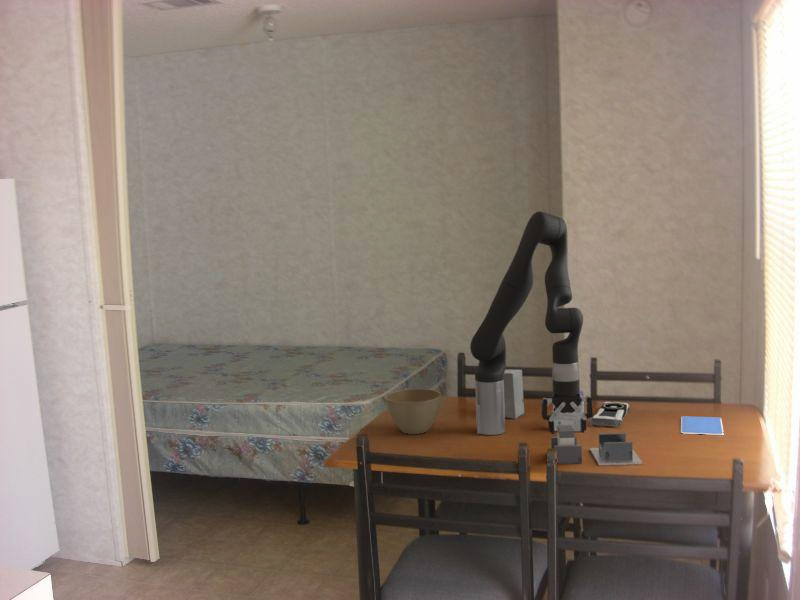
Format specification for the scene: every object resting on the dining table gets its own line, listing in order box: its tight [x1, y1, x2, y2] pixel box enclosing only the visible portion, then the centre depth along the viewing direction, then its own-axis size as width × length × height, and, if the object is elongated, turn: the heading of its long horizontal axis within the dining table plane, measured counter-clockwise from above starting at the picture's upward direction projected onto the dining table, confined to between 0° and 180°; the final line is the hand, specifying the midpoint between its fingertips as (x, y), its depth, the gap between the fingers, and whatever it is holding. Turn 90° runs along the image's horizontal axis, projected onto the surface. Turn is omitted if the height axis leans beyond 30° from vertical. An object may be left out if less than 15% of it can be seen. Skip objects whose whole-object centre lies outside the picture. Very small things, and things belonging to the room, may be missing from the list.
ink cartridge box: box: [551, 390, 585, 432], centre depth 261 cm, size 10×6×14 cm, turn 78°
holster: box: [550, 435, 583, 465], centre depth 233 cm, size 7×9×5 cm
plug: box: [556, 425, 575, 446], centre depth 233 cm, size 4×6×9 cm, turn 177°
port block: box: [589, 432, 643, 466], centre depth 232 cm, size 12×14×6 cm
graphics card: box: [589, 401, 630, 428], centre depth 273 cm, size 10×3×25 cm
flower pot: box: [385, 388, 442, 435], centre depth 267 cm, size 18×18×12 cm
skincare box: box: [504, 368, 525, 420], centre depth 281 cm, size 8×7×16 cm
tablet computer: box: [680, 415, 725, 436], centre depth 258 cm, size 19×13×1 cm, turn 161°
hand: (567, 432), depth 233 cm, fingers open, 8 cm apart
